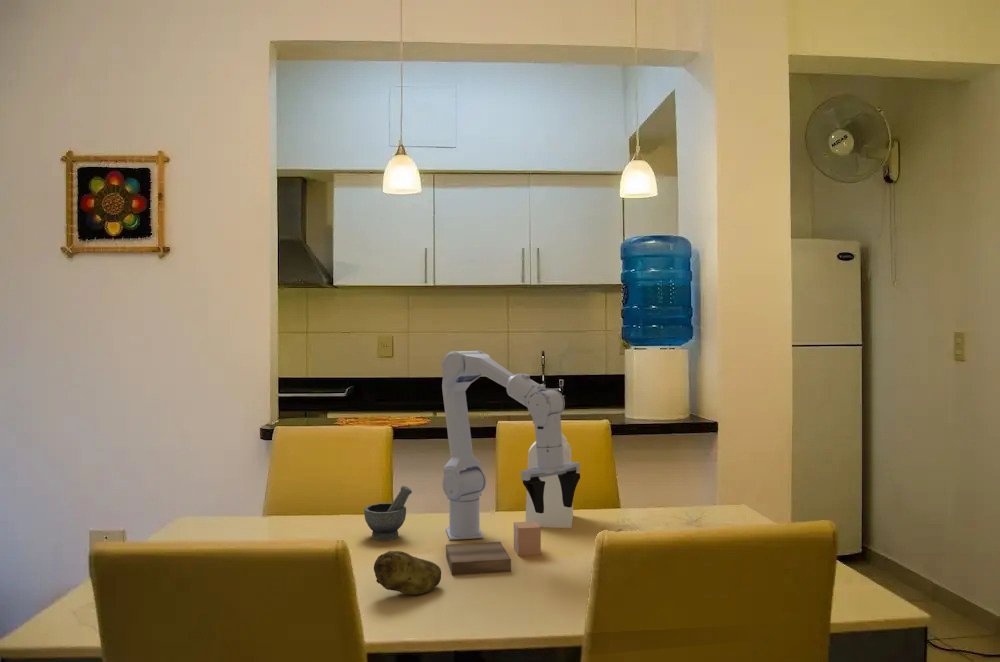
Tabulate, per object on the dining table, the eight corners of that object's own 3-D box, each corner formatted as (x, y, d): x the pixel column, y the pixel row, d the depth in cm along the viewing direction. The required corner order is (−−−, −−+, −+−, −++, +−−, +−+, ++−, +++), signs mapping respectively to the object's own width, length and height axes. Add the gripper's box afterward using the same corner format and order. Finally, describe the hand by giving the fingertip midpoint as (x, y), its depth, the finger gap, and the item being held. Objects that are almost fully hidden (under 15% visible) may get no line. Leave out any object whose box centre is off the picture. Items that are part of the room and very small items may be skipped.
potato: (446, 598, 127) (446, 554, 127) (374, 604, 124) (374, 559, 124) (439, 582, 135) (439, 541, 135) (372, 588, 132) (372, 545, 132)
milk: (529, 514, 186) (529, 416, 186) (573, 515, 185) (573, 417, 185) (525, 526, 174) (525, 422, 175) (571, 528, 173) (571, 423, 173)
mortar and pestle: (361, 543, 161) (361, 491, 161) (366, 531, 170) (366, 482, 170) (410, 542, 161) (410, 490, 161) (413, 530, 171) (413, 481, 171)
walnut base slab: (445, 556, 151) (445, 544, 151) (500, 553, 153) (500, 541, 153) (451, 575, 139) (451, 562, 139) (510, 571, 141) (510, 559, 141)
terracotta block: (513, 549, 156) (513, 522, 156) (535, 547, 157) (535, 521, 157) (518, 556, 151) (518, 528, 151) (540, 554, 152) (540, 527, 152)
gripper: (532, 451, 144) (537, 517, 143) (587, 443, 151) (591, 506, 151) (513, 449, 149) (518, 513, 149) (566, 441, 157) (571, 502, 157)
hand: (553, 509), depth 150 cm, fingers open, 7 cm apart
